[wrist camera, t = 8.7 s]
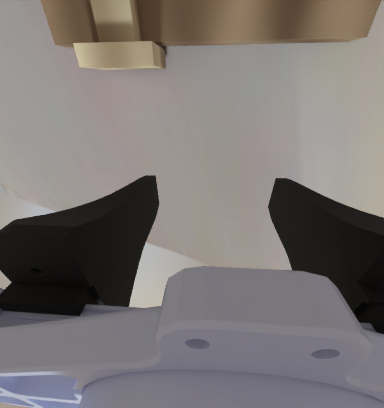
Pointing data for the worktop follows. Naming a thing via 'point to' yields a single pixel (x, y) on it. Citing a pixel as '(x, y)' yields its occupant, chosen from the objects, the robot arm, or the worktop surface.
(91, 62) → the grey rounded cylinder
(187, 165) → the worktop surface
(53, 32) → the board
